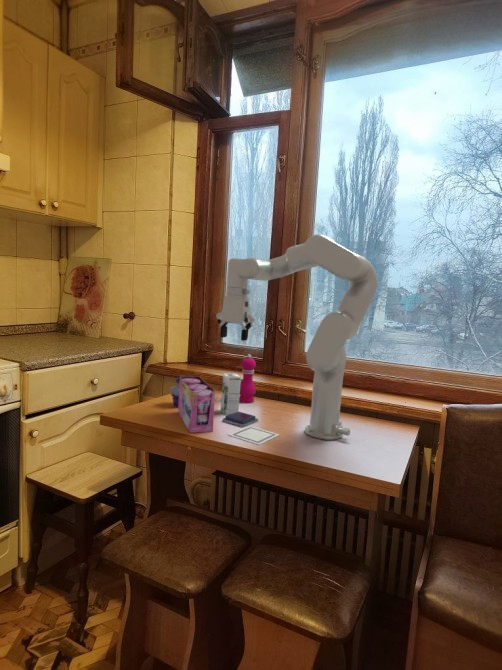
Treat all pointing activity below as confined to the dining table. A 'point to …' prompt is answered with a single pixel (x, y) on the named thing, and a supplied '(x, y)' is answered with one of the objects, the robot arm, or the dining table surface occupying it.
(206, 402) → the gum box
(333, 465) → the dining table surface
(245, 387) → the pepper mill
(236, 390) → the syrup box
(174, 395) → the potion bottle
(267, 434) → the marked card
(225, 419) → the ink pad
